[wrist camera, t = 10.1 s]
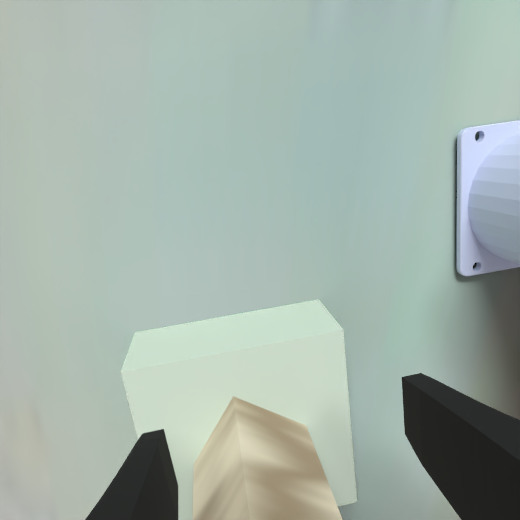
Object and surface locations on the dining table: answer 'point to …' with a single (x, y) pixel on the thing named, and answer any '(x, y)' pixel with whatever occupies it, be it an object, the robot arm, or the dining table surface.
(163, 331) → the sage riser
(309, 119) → the dining table surface
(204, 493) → the maple block
